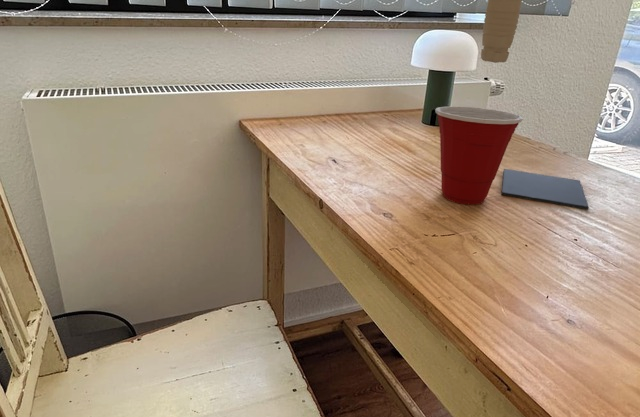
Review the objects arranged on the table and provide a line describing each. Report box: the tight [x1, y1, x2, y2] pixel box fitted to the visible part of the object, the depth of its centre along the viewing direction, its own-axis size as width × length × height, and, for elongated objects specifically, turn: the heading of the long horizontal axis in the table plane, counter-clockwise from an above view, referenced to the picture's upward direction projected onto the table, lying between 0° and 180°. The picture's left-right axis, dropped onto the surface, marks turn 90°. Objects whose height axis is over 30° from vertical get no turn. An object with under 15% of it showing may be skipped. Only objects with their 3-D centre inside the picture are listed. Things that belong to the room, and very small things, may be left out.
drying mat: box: [501, 168, 589, 210], centre depth 72 cm, size 11×11×1 cm
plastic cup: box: [434, 106, 524, 206], centre depth 65 cm, size 11×11×12 cm
